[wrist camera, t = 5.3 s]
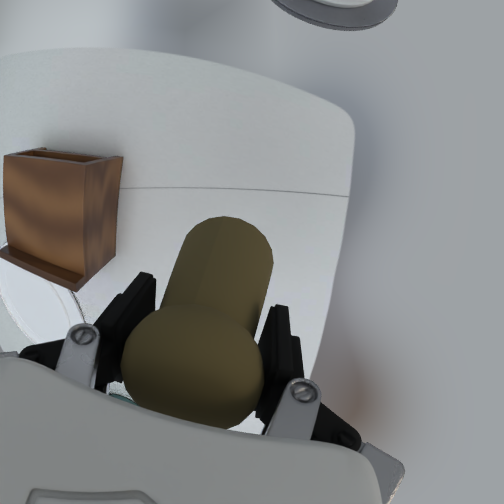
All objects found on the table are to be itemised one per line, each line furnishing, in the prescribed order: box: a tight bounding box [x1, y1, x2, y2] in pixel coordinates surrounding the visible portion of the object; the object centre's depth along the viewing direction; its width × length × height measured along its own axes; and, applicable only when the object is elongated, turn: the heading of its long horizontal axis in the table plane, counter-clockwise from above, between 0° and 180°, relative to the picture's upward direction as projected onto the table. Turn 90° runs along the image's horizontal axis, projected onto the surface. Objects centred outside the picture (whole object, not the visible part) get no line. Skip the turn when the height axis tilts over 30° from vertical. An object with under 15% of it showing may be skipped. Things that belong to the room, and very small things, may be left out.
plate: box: [0, 243, 84, 344], centre depth 40 cm, size 28×28×1 cm
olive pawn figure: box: [120, 216, 274, 429], centre depth 12 cm, size 6×6×11 cm
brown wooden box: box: [0, 147, 123, 292], centre depth 27 cm, size 14×16×10 cm
